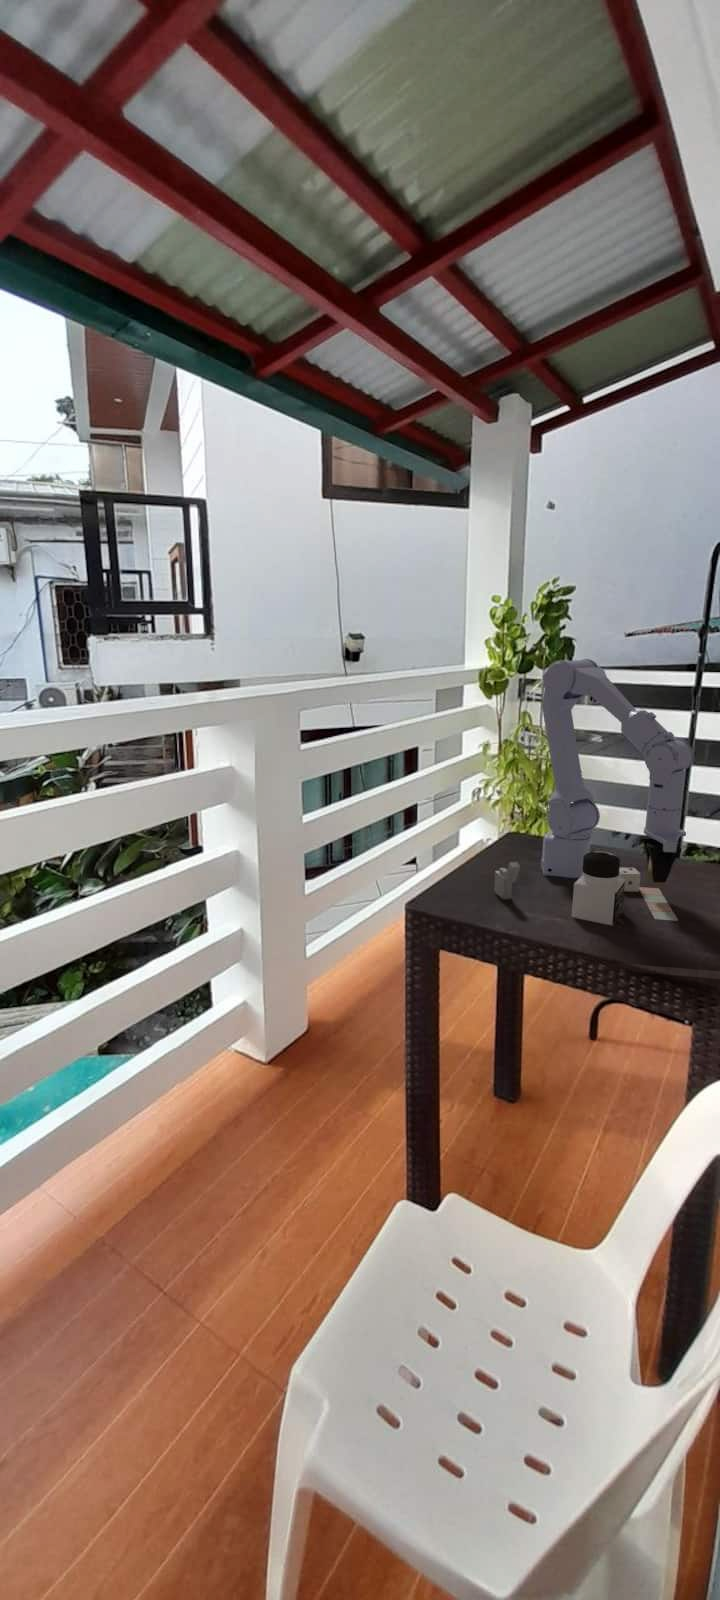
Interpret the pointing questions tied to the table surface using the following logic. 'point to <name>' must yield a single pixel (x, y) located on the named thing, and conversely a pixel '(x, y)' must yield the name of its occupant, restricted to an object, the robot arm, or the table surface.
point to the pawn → (650, 878)
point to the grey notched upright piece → (506, 880)
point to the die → (630, 878)
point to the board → (657, 904)
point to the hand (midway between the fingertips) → (657, 878)
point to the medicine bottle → (599, 889)
